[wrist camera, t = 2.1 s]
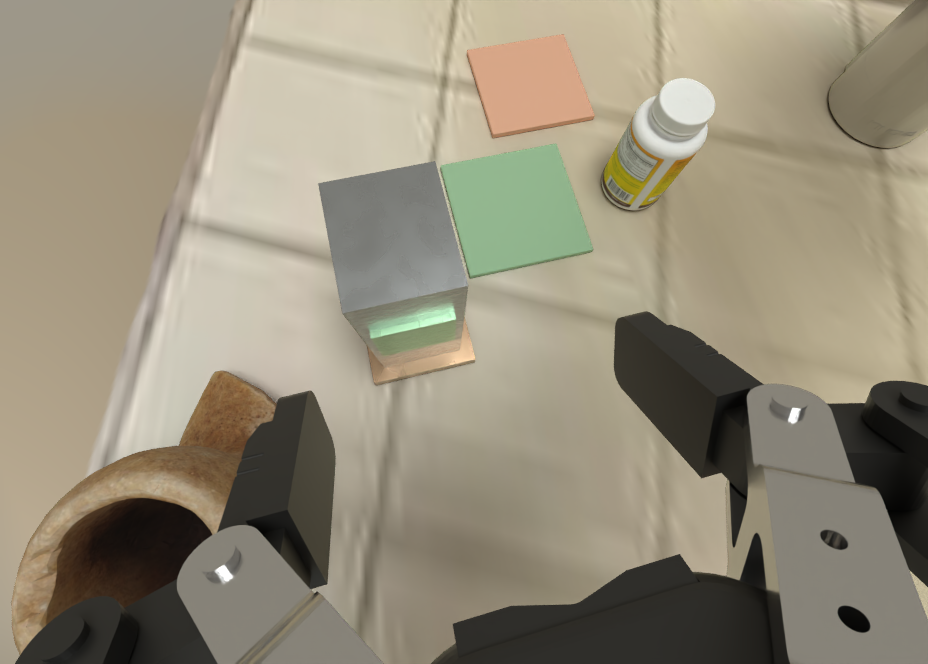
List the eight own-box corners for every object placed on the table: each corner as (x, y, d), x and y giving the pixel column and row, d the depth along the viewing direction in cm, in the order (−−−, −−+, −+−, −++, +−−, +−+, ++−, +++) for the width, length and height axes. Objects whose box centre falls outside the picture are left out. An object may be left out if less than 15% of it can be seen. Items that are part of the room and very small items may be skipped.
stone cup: (287, 634, 30) (136, 810, 15) (129, 574, 30) (-160, 689, 16) (369, 421, 34) (311, 401, 19) (228, 372, 34) (69, 316, 20)
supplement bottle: (660, 165, 41) (728, 75, 31) (656, 218, 39) (727, 140, 29) (601, 155, 41) (651, 61, 31) (595, 207, 39) (645, 126, 29)
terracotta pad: (467, 54, 43) (467, 50, 43) (562, 38, 44) (563, 34, 44) (492, 138, 41) (493, 134, 40) (592, 119, 42) (594, 115, 41)
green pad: (440, 169, 40) (440, 165, 39) (554, 147, 41) (556, 143, 40) (470, 278, 37) (470, 276, 37) (591, 251, 38) (593, 249, 38)
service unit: (356, 281, 37) (295, 170, 22) (448, 262, 37) (449, 141, 23) (376, 385, 34) (324, 338, 20) (474, 362, 35) (493, 300, 20)
